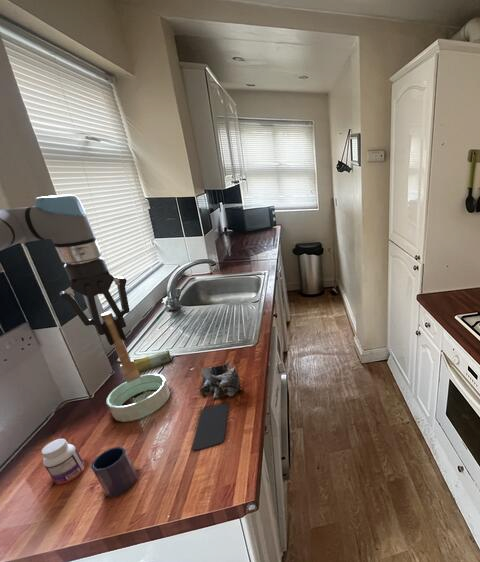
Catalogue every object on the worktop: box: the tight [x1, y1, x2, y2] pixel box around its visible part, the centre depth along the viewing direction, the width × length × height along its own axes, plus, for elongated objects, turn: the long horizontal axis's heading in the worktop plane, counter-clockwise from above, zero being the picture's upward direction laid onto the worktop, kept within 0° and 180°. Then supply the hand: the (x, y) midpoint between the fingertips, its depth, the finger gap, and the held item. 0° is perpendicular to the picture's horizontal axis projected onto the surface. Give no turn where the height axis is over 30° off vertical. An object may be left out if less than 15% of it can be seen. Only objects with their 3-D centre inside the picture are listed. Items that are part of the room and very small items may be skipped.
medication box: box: [134, 350, 173, 373], centre depth 110 cm, size 12×3×4 cm, turn 129°
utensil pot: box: [90, 446, 138, 498], centre depth 68 cm, size 6×6×9 cm
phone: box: [192, 403, 229, 451], centre depth 84 cm, size 7×1×15 cm
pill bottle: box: [41, 438, 86, 485], centre depth 71 cm, size 5×5×10 cm
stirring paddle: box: [100, 311, 141, 383], centre depth 86 cm, size 3×2×22 cm
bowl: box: [106, 373, 171, 423], centre depth 92 cm, size 14×14×6 cm
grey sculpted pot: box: [199, 361, 242, 399], centre depth 98 cm, size 12×11×15 cm
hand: (117, 340), depth 85 cm, fingers closed on stirring paddle, 2 cm apart
